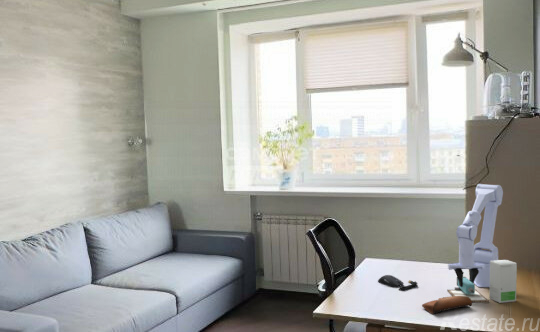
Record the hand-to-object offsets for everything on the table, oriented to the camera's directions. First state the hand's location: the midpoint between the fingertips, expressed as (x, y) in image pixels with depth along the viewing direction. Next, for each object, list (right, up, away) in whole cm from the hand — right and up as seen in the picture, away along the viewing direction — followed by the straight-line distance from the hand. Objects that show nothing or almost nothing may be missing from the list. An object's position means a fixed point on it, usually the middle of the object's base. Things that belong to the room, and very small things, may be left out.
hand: (466, 286), depth 216 cm
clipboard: (0, -4, -3) cm, 4 cm away
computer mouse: (-24, -4, +16) cm, 29 cm away
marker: (0, -2, 0) cm, 2 cm away
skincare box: (+12, -4, -7) cm, 15 cm away
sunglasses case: (-13, -5, -15) cm, 21 cm away
